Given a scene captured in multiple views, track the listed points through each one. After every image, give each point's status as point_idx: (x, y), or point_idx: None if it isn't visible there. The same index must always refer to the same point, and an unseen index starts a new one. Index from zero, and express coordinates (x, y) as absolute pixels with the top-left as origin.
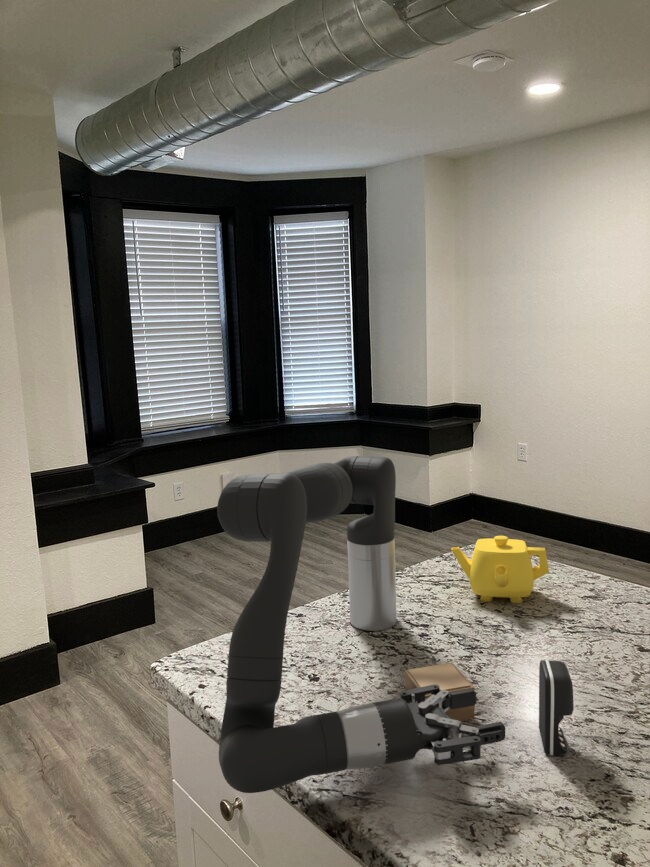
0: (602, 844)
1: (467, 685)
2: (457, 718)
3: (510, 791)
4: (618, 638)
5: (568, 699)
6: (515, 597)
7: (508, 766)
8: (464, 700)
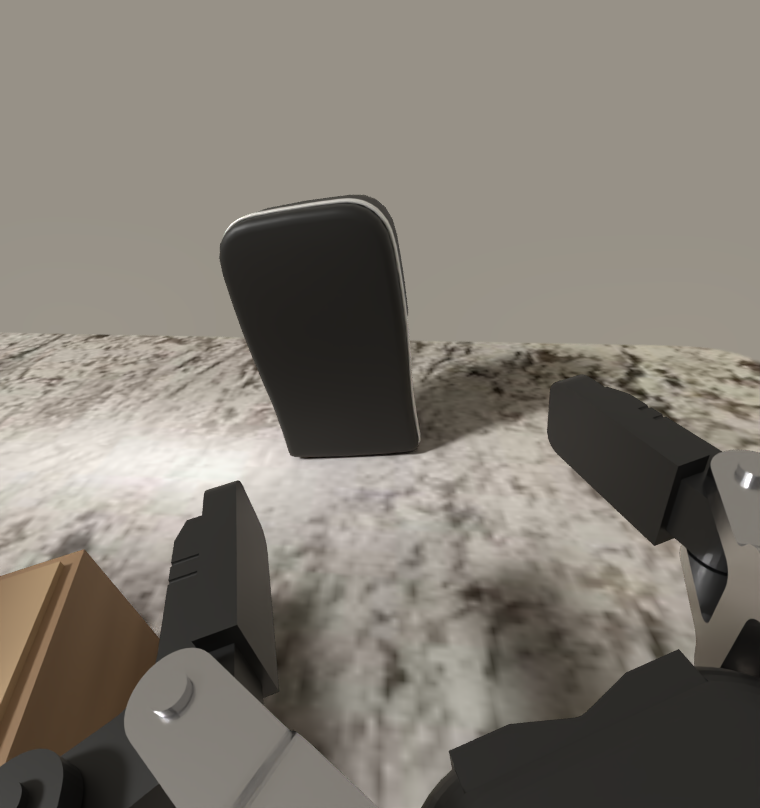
0: (740, 385)
1: (51, 576)
2: None
3: (633, 547)
4: (48, 352)
5: (400, 255)
6: None
7: (483, 543)
8: (256, 568)
